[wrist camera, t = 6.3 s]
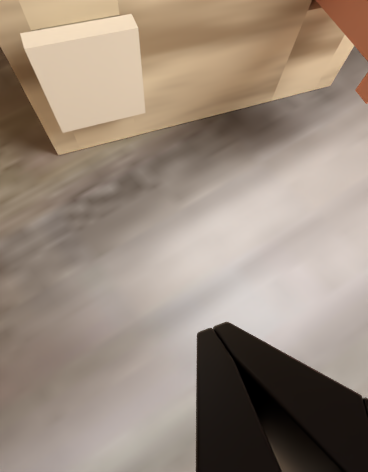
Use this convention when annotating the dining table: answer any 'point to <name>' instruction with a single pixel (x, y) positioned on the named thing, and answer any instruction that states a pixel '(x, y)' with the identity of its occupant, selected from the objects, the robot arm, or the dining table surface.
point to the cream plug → (89, 70)
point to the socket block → (189, 57)
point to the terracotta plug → (352, 28)
